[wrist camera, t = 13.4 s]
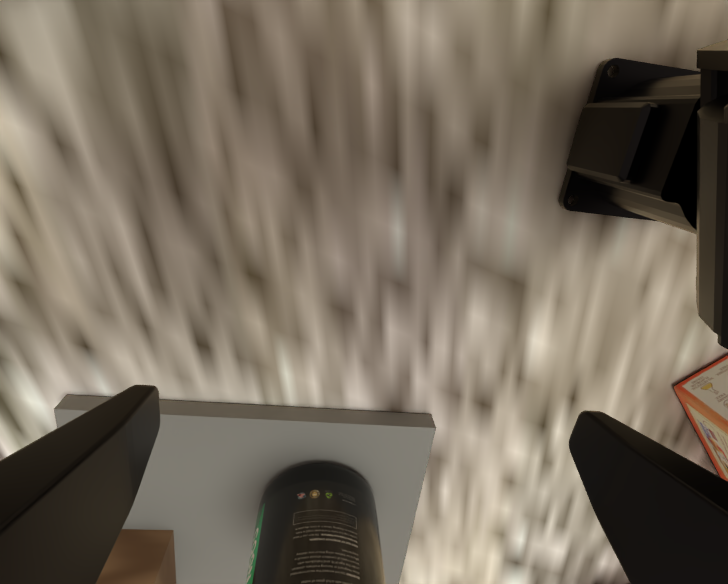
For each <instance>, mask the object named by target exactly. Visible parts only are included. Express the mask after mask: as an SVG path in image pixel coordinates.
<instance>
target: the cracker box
mask: <svg viewBox="0 0 728 584" xmlns="http://www.w3.org/2000/svg"><path fill="white" fill-rule="evenodd" d="M674 390H675V392H676V394H677V396H678V398H679V399H680V401H681V403H682V405H683V407H684V409H685V411H686V413H687V415H688V417H689V419H690V421H691V422H692V424H693V426H694V428H695V430H696V432H697V434H698V435H699V437H700V439H701V441H702V443H703V445H704V447H705V449H706V450H707V452H708V454H709V456H710V458H711V460H712V462H713V464H714V466H715V468H716V470H717V471H718V473H719V475H720V477H721V478H722V479H724V480H726V481H728V355H727V356H725V357H724V358H722V359H720V360H719V361H717V362H715V363H713V364H712V365H710V366H708V367H706V368H705V369H703V370H701V371H699V372H698V373H696V374H694V375H692V376H691V377H689V378H687V379H686V380H684V381H682V382H681V383H679V384H677V385H676V386H674Z"/></svg>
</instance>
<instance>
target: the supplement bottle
mask: <svg viewBox="0 0 728 584" xmlns="http://www.w3.org/2000/svg"><path fill="white" fill-rule="evenodd" d="M246 584H386V582H385V574H384V566H383V558H382V550H381V541H380V533H379V525H378V517H377V510H376V504H375V499H374V495H373V493H372V491H371V489H370V487H369V486H368V484H367V483H366V482H365V481H364V480H363V479H362V478H361V477H360V476H359V475H358V474H356V473H355V472H353V471H351V470H349V469H347V468H345V467H342V466H339V465H335V464H329V463H311V464H305V465H301V466H297V467H295V468H292V469H290V470H288V471H286V472H284V473H283V474H281V475H280V476H278V477H277V478H276V479H275V480H274V481H273V482H272V483H271V484H270V485H269V486H268V487H267V489H266V490H265V492H264V494H263V496H262V498H261V501H260V505H259V510H258V515H257V520H256V525H255V531H254V537H253V543H252V549H251V554H250V560H249V566H248V572H247V578H246Z"/></svg>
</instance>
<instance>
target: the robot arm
mask: <svg viewBox="0 0 728 584" xmlns="http://www.w3.org/2000/svg"><path fill="white" fill-rule="evenodd" d="M610 66H612V67H613V69H614V71H613V74H612V76H611V77H609V76H608V69H609V67H610ZM697 68H700V69H701V72H698V71H692V70H686V69H680V68H674V67H668V66H662V65H656V64H650V63H644V62H638V61H632V60H626V59H620V58H613V59H607V60H605V61H603V62H602V63H601V64H600V65H599V68H598V70H597V73H596V76H595V79H594V83H593V86H592V89H591V93H590V96H589V99H588V103H587V105H586V106H585V107H584V108H583V110H582V113H581V116H580V120H579V123H578V127H577V130H576V133H575V137H574V140H573V144H572V147H571V150H570V154H569V157H568V160H567V166H568V170H567V173H566V177H565V180H564V183H563V187H562V190H561V193H560V197H559V204H560V206H561V207H562V208H564V209H567V210H570V211H577V212H585V213H594V214H602V215H611V216H619V217H628V218H636V219H645V220H653V221H660V222H663V223H665V224H668V225H671V226H674V227H677V228H680V229H683V230H686V231H689V232H692V233H695V234H697V277H696V301H697V308H698V314H699V316H700V318H701V319H702V320H703V321H704V322H705V323H706V324H707V325H708V326H709V327H710V328H711V330H712V331H713V332H715V333H716V334H718V343H719V344H720V345H721V346H723V347H724V348H726V349H728V39H727V40H724V41H721V42H718V43H715V44H712V45H709V46H706V47H703V48H701V49H698V50H697ZM572 195H574V200H573V202H572V203H570V204H569V203H568V199H569V197H570V196H572ZM159 428H160V405H159V392H158V389H157V387H155V386H151V385H134V386H132V387H130V388H128V389H126V390H124V391H123V392H121V393H119V394H117V395H116V396H114V397H112V398H110V399H108V400H107V401H105V402H103V403H101V404H100V405H98V406H96V407H94V408H93V409H91V410H89V411H87V412H86V413H84V414H82V415H80V416H78V417H77V418H75V419H73V420H71V421H70V422H68V423H66V424H64V425H63V426H61V427H59V428H57V429H55V430H54V431H52V432H50V433H48V434H47V435H45V436H43V437H41V438H40V439H38V440H36V441H34V442H33V443H31V444H29V445H27V446H25V447H24V448H22V449H20V450H18V451H17V452H15V453H13V454H11V455H10V456H8V457H6V458H4V459H2V460H1V461H0V584H96V582H97V580H98V578H99V576H100V574H101V572H102V570H103V568H104V565H105V563H106V561H107V559H108V557H109V555H110V553H111V551H112V549H113V547H114V544H115V542H116V540H117V538H118V536H119V534H120V532H121V530H122V528H123V526H124V523H125V521H126V519H127V517H128V515H129V513H130V510H131V508H132V506H133V503H134V501H135V498H136V495H137V493H138V490H139V487H140V484H141V481H142V478H143V475H144V472H145V470H146V467H147V464H148V461H149V458H150V455H151V452H152V449H153V446H154V443H155V441H156V438H157V435H158V432H159ZM569 448H570V452H571V455H572V457H573V460H574V462H575V465H576V467H577V470H578V472H579V475H580V477H581V480H582V482H583V485H584V487H585V490H586V492H587V495H588V497H589V500H590V502H591V504H592V507H593V509H594V512H595V514H596V516H597V518H598V520H599V522H600V524H601V527H602V529H603V530H604V532H605V534H606V536H607V538H608V540H609V542H610V544H611V546H612V548H613V550H614V552H615V554H616V556H617V558H618V560H619V562H620V564H621V566H622V568H623V570H624V572H625V573H626V575H627V577H628V579H629V581H630V583H631V584H728V481H726V480H724V479H722V478H721V477H719V476H717V475H715V474H713V473H712V472H710V471H708V470H706V469H704V468H703V467H701V466H699V465H697V464H695V463H694V462H692V461H690V460H688V459H686V458H684V457H683V456H681V455H679V454H677V453H675V452H674V451H672V450H670V449H668V448H666V447H665V446H663V445H661V444H659V443H657V442H656V441H654V440H652V439H650V438H648V437H647V436H645V435H643V434H641V433H639V432H637V431H636V430H634V429H632V428H630V427H628V426H627V425H625V424H623V423H621V422H619V421H618V420H616V419H614V418H612V417H610V416H609V415H607V414H605V413H603V412H600V411H583V412H581V413H580V414H579V416H578V418H577V421H576V424H575V426H574V429H573V431H572V434H571V436H570V440H569Z"/></svg>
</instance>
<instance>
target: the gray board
mask: <svg viewBox="0 0 728 584" xmlns="http://www.w3.org/2000/svg"><path fill="white" fill-rule="evenodd" d="M110 398H112V397H100V396H82V395H66V396H65V397H64V398H63V400H62V401H61V402H60V403H59V404H58V405H57V406H56V407H55V408H54V412H55V418H56V424H57V428H59V427H61V426H63V425H64V424H66V423H68V422H70V421H71V420H73V419H75V418H77V417H78V416H80V415H82V414H84V413H86V412H87V411H89V410H91V409H93V408H94V407H96V406H98V405H100V404H101V403H103V402H105V401H107V400H108V399H110ZM159 405H160V428H159V432H158V435H157V438H156V441H155V443H154V446H153V449H152V452H151V455H150V458H149V461H148V464H147V467H146V470H145V472H144V475H143V478H142V481H141V484H140V487H139V490H138V493H137V495H136V498H135V501H134V503H133V506H132V508H131V510H130V513H129V515H128V517H127V519H126V521H125V523H124V526H123V528H122V529H141V530H173V531H174V549H175V568H176V584H246V578H247V572H248V566H249V560H250V554H251V549H252V543H253V537H254V531H255V525H256V520H257V515H258V510H259V505H260V501H261V498H262V496H263V494H264V492H265V490H266V489H267V487H268V486H269V485H270V484H271V483H272V482H273V481H274V480H275V479H276V478H277V477H278V476H280V475H281V474H283V473H284V472H286V471H288V470H290V469H292V468H295V467H297V466H301V465H305V464H311V463H329V464H335V465H339V466H342V467H345V468H347V469H349V470H351V471H353V472H355V473H356V474H358V475H359V476H360V477H361V478H362V479H363V480H364V481H365V482H366V483H367V484H368V486H369V487H370V489H371V491H372V493H373V495H374V499H375V504H376V510H377V517H378V525H379V533H380V541H381V550H382V558H383V566H384V574H385V582H386V584H399V581H400V577H401V572H402V568H403V564H404V560H405V556H406V552H407V547H408V543H409V539H410V535H411V531H412V526H413V522H414V518H415V514H416V510H417V505H418V501H419V497H420V493H421V489H422V484H423V480H424V476H425V472H426V468H427V463H428V459H429V455H430V451H431V447H432V442H433V438H434V434H435V430H436V427H435V424H434V421H433V418H432V415H431V414H416V413H397V412H379V411H360V410H342V409H323V408H304V407H286V406H267V405H249V404H230V403H212V402H193V401H174V400H159Z"/></svg>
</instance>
